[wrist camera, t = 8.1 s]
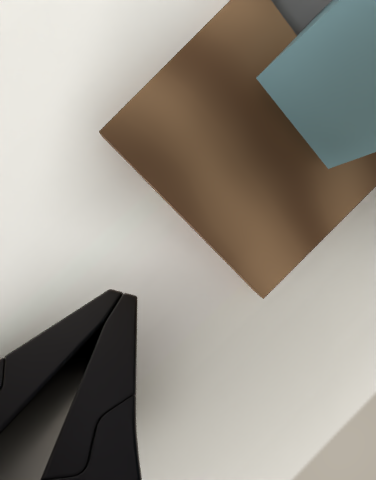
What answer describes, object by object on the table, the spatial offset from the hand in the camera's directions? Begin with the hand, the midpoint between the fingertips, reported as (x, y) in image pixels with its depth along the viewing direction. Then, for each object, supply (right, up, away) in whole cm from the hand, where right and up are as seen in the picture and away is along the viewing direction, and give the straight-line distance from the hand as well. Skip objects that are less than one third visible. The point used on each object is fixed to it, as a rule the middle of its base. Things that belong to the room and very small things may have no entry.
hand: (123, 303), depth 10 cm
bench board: (+6, +7, +10) cm, 13 cm away
